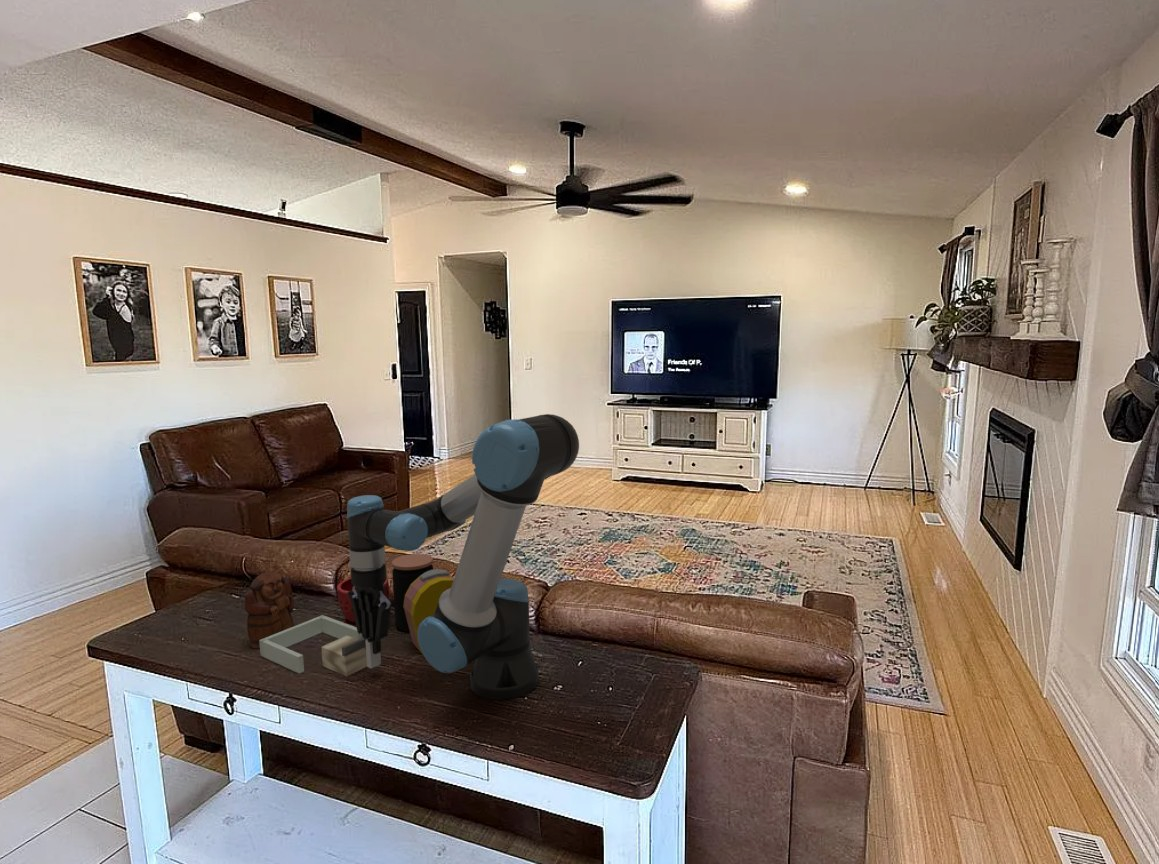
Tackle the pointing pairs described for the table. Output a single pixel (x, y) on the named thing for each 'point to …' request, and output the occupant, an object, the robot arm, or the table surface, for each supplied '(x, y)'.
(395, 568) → the coffee jar
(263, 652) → the dock
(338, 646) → the beige block
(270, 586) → the wooden figurine
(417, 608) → the alarm clock
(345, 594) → the plant pot
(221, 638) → the table surface
